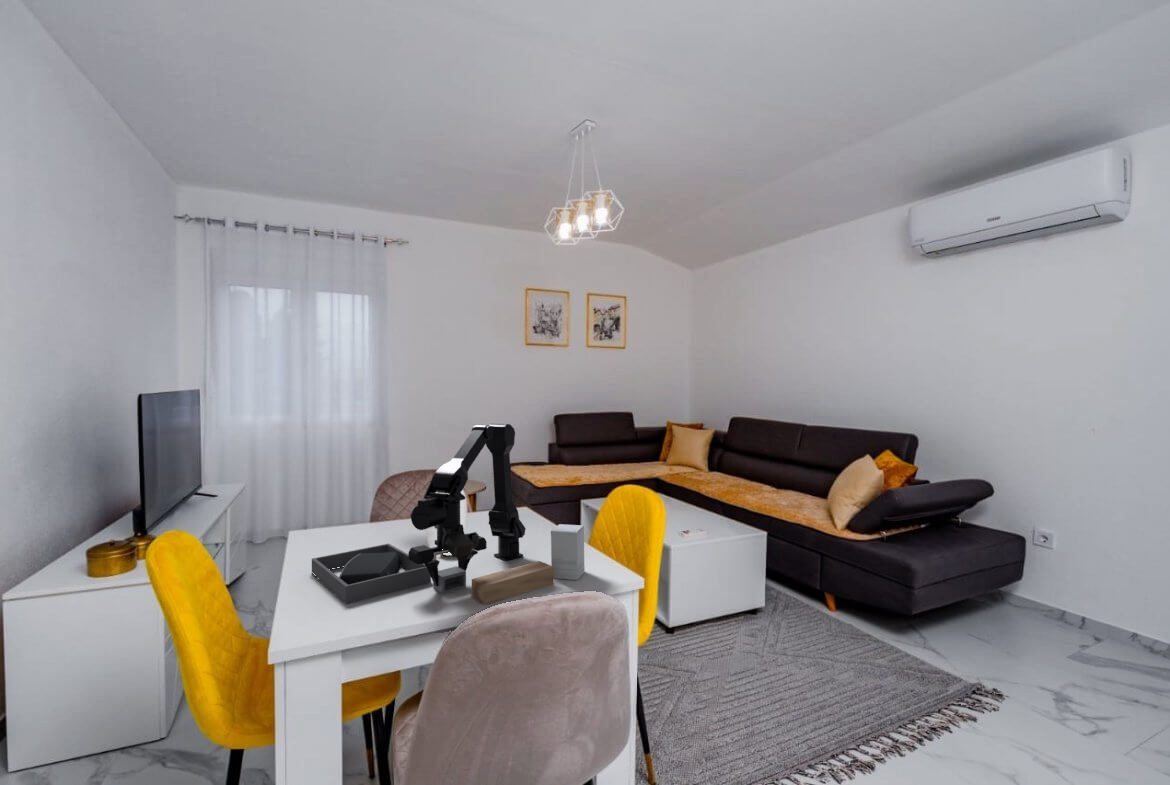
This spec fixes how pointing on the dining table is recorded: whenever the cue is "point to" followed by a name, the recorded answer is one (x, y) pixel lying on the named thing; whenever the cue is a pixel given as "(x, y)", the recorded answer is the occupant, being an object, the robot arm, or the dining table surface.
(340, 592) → the bumper frame
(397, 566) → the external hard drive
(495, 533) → the robot arm
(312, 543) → the dining table surface
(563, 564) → the supplement box
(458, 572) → the box
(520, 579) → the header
